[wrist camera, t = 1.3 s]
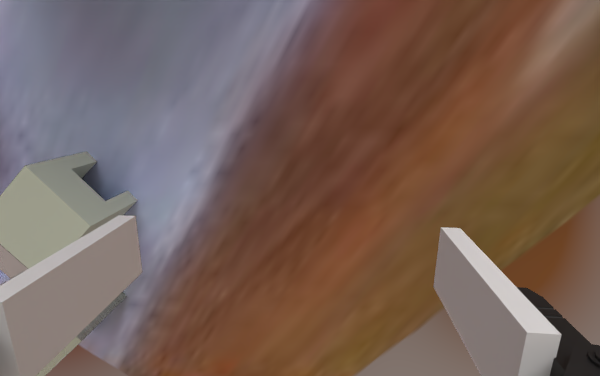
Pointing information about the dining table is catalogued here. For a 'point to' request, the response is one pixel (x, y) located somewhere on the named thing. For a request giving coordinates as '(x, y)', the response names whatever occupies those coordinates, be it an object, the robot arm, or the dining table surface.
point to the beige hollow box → (53, 208)
